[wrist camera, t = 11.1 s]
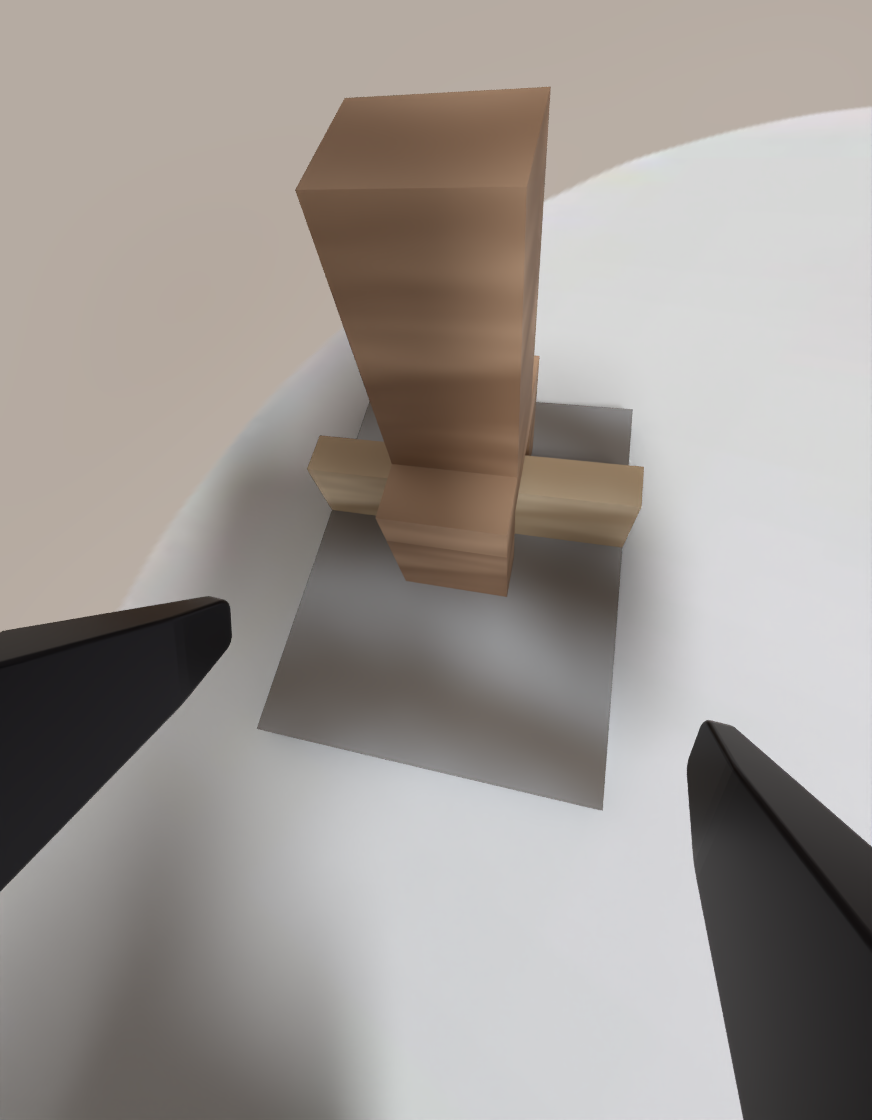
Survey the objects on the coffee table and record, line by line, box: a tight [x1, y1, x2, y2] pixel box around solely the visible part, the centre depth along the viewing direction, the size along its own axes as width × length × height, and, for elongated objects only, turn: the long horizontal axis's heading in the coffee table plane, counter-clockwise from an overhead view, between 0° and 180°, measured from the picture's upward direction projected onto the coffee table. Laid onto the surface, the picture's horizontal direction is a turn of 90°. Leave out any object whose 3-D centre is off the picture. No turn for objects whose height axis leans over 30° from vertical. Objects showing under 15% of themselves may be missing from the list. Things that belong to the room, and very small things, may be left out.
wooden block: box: [295, 87, 550, 597], centre depth 15 cm, size 7×4×13 cm, turn 167°
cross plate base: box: [257, 402, 644, 810], centre depth 19 cm, size 16×12×4 cm
